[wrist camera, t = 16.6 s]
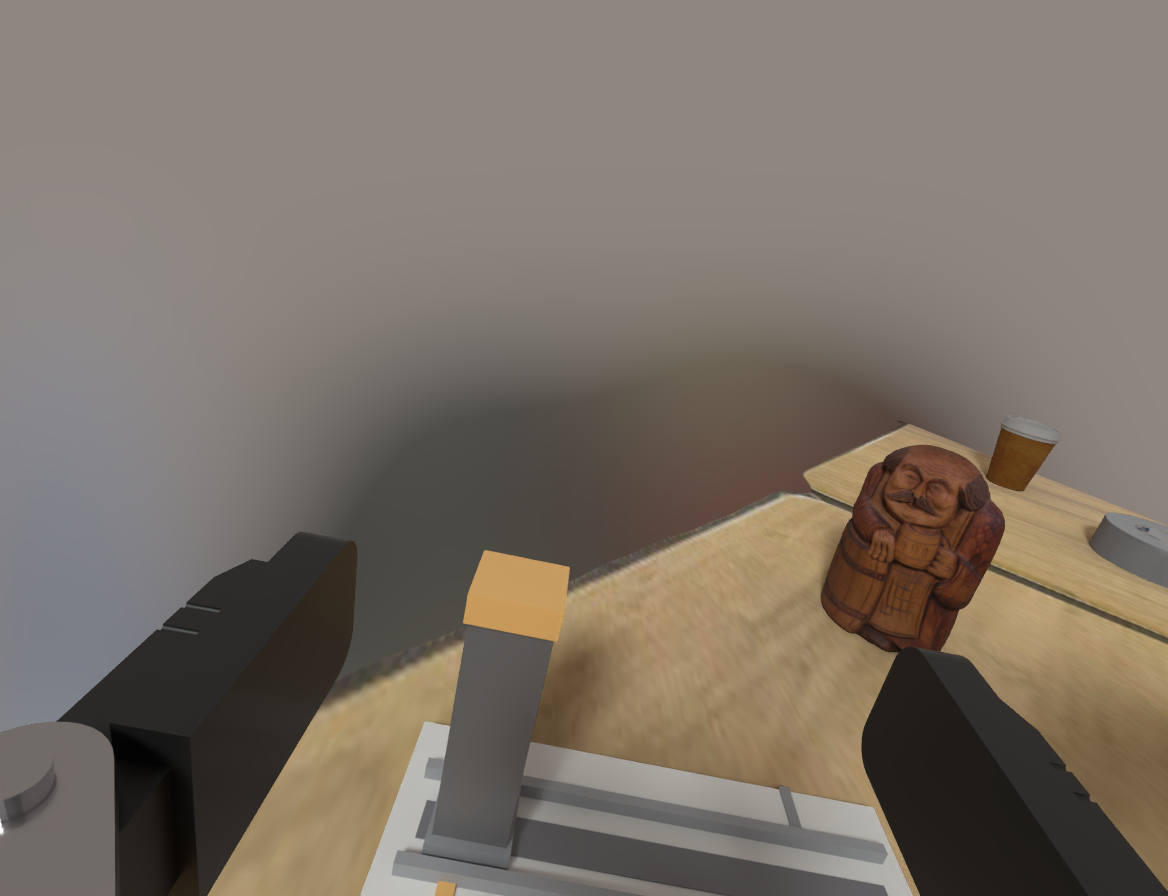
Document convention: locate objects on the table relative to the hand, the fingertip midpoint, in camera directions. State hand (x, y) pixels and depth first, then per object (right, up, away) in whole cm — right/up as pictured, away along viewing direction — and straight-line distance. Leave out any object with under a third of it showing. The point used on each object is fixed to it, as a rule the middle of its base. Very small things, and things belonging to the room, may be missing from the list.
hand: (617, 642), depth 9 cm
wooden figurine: (+27, -14, +49) cm, 58 cm away
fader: (-6, -16, +21) cm, 27 cm away
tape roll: (+82, -15, +81) cm, 116 cm away
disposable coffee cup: (+78, -4, +107) cm, 133 cm away
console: (+3, -19, +22) cm, 29 cm away
